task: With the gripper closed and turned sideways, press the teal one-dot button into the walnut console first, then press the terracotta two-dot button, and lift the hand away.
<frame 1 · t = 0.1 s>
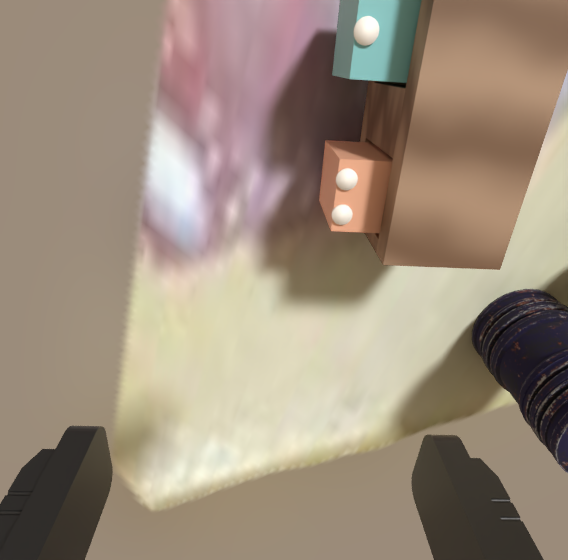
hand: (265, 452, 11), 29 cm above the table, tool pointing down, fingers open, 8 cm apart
terracotta button: (367, 184, 31), point 6 cm above the table, slide at 0.0 cm
dark blue barrel: (515, 326, 45), on the table
walnut console: (412, 111, 34), on the table
teal button: (390, 37, 26), point 6 cm above the table, slide at 0.0 cm
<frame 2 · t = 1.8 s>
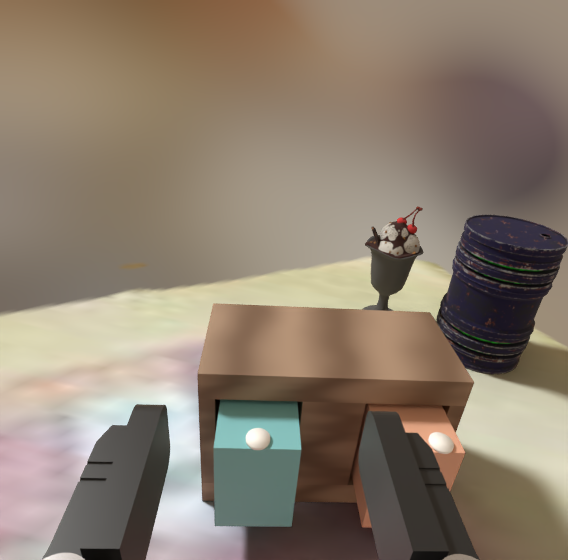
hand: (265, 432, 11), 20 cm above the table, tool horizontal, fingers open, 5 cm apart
terracotta button: (397, 451, 28), point 6 cm above the table, slide at 0.0 cm
dark blue barrel: (473, 348, 50), on the table
walnut console: (312, 456, 34), on the table
teal button: (256, 448, 27), point 6 cm above the table, slide at 0.0 cm
sundae: (379, 317, 55), on the table
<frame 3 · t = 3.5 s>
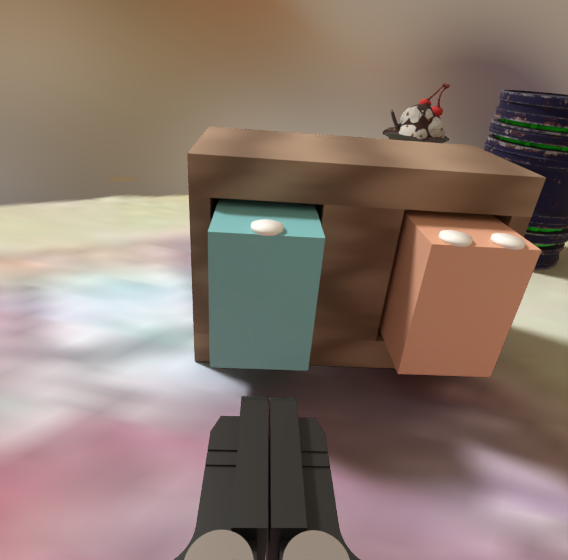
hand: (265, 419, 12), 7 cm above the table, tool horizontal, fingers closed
terracotta button: (441, 284, 22), point 6 cm above the table, slide at 0.0 cm
dark blue barrel: (504, 250, 44), on the table
walnut console: (328, 327, 29), on the table
teal button: (263, 275, 22), point 6 cm above the table, slide at 0.0 cm
sundae: (397, 224, 49), on the table
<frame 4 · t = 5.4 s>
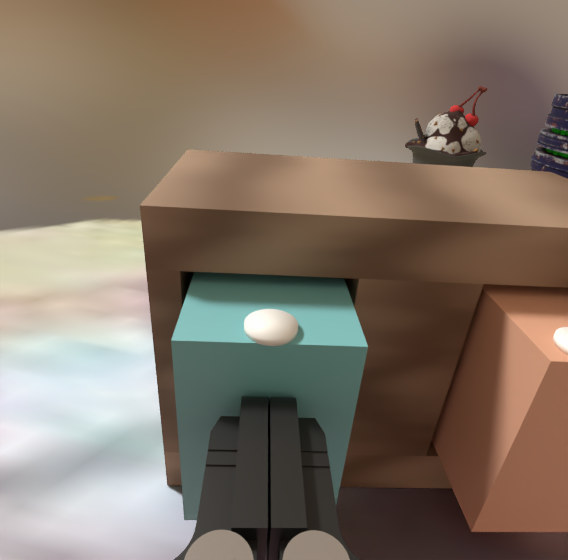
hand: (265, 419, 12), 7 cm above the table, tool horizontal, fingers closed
terracotta button: (530, 387, 15), point 6 cm above the table, slide at 0.0 cm
dark blue barrel: (552, 285, 37), on the table
walnut console: (352, 416, 21), on the table
teal button: (265, 373, 15), point 6 cm above the table, slide at 0.4 cm, touching gripper
sundae: (420, 252, 41), on the table
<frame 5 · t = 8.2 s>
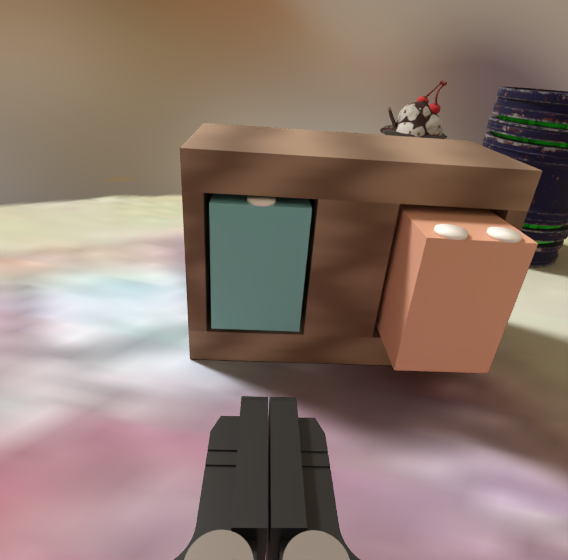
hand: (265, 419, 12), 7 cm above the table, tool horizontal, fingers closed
terracotta button: (438, 280, 22), point 6 cm above the table, slide at 0.0 cm
dark blue barrel: (503, 248, 44), on the table
walnut console: (325, 325, 28), on the table
teal button: (259, 247, 24), point 6 cm above the table, slide at 3.1 cm
sundae: (395, 223, 48), on the table
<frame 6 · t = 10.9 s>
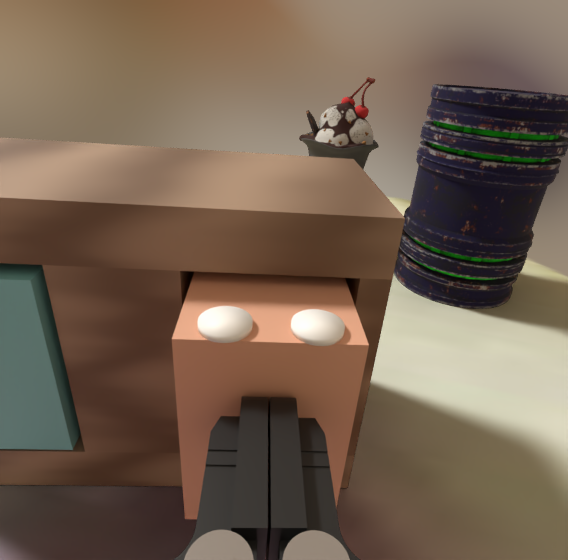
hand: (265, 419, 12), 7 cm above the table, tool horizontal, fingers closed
terracotta button: (265, 372, 15), point 6 cm above the table, slide at 0.4 cm, touching gripper
dark blue barrel: (449, 281, 36), on the table
walnut console: (164, 412, 21), on the table
teal button: (22, 321, 16), point 6 cm above the table, slide at 3.1 cm
sundae: (326, 247, 41), on the table
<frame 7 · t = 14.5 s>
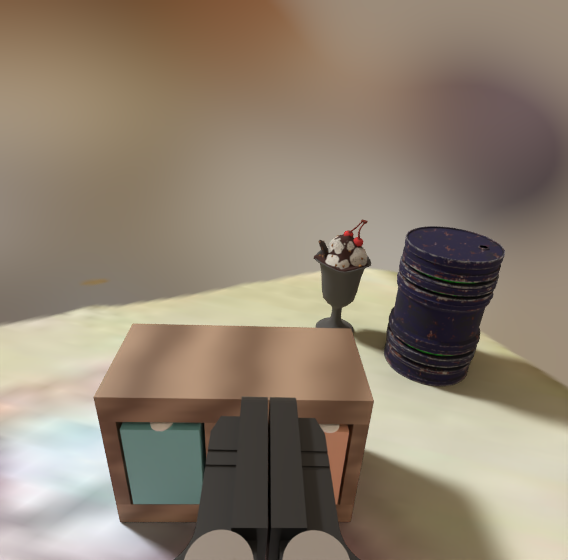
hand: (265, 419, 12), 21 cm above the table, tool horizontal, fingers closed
terracotta button: (303, 434, 31), point 6 cm above the table, slide at 3.0 cm
dark blue barrel: (424, 360, 50), on the table
walnut console: (240, 474, 34), on the table
teal button: (173, 433, 30), point 6 cm above the table, slide at 3.1 cm
sundae: (334, 329, 55), on the table
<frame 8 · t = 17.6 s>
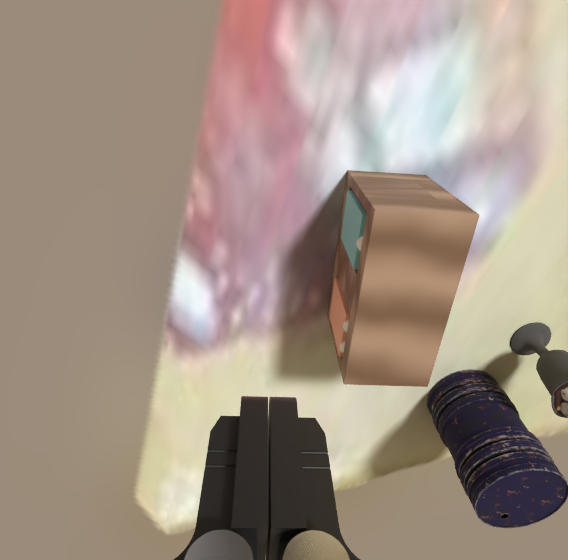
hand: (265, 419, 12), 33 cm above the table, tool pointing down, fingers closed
terracotta button: (365, 316, 42), point 6 cm above the table, slide at 3.0 cm
dark blue barrel: (461, 396, 57), on the table
walnut console: (372, 250, 46), on the table
teal button: (382, 229, 38), point 6 cm above the table, slide at 3.1 cm
sundae: (529, 338, 52), on the table
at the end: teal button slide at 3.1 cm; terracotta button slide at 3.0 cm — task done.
